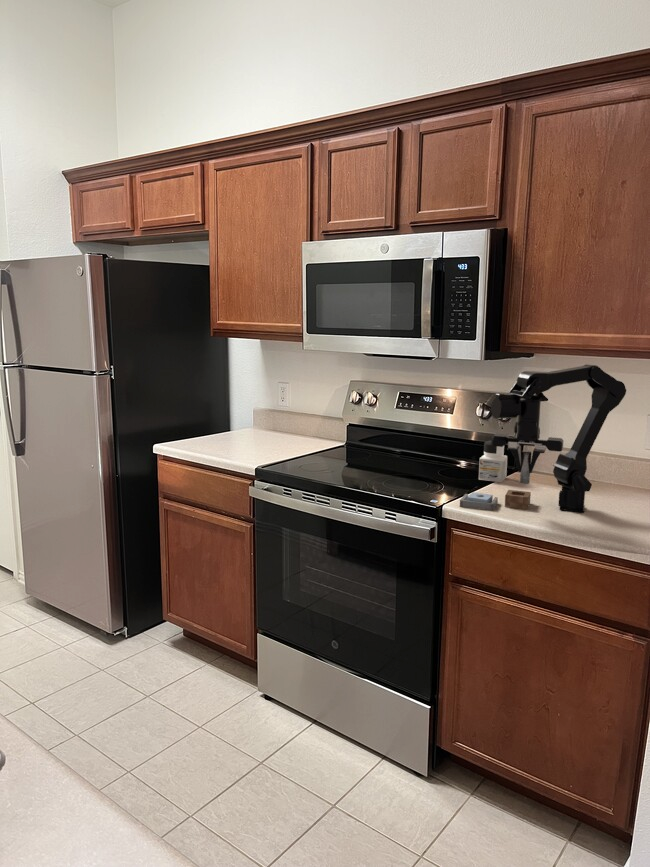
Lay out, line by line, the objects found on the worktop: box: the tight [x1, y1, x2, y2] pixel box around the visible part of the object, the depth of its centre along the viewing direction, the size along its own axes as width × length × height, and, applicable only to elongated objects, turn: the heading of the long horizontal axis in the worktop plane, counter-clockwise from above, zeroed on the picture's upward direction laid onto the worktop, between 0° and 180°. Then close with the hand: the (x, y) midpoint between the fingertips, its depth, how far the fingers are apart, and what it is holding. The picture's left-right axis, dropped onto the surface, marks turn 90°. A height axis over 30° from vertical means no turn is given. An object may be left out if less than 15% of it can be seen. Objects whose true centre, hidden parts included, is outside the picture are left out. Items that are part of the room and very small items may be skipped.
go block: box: [504, 489, 531, 510], centre depth 194 cm, size 6×6×4 cm
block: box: [467, 491, 494, 503], centre depth 194 cm, size 6×6×3 cm
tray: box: [459, 493, 499, 511], centre depth 194 cm, size 10×8×2 cm
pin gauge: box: [519, 450, 532, 485], centre depth 184 cm, size 3×3×9 cm
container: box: [478, 439, 508, 483], centre depth 223 cm, size 8×8×13 cm
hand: (525, 472), depth 185 cm, fingers closed on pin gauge, 3 cm apart
